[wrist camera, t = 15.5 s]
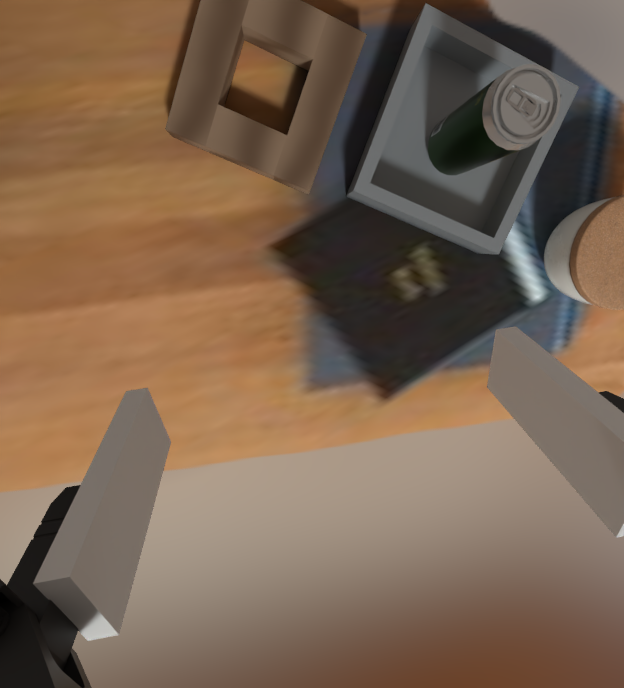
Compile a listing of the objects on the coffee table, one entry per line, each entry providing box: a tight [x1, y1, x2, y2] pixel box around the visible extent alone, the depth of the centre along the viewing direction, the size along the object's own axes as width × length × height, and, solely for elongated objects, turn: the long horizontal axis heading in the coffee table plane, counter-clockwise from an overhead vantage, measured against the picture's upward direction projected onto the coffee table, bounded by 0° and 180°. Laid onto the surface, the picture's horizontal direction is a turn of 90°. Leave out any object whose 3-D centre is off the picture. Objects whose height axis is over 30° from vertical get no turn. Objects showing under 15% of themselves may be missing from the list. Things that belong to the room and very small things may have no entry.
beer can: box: [428, 64, 561, 176], centre depth 32 cm, size 5×5×12 cm
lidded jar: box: [544, 195, 624, 310], centre depth 38 cm, size 11×11×9 cm
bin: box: [346, 3, 579, 254], centre depth 37 cm, size 16×16×4 cm
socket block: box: [165, 0, 367, 194], centre depth 35 cm, size 14×14×2 cm
